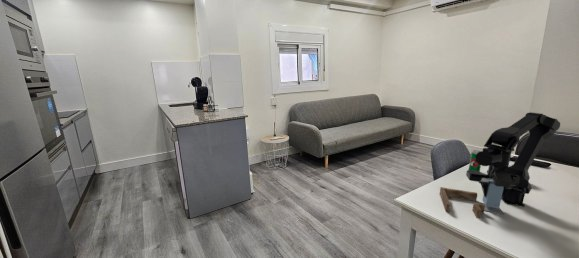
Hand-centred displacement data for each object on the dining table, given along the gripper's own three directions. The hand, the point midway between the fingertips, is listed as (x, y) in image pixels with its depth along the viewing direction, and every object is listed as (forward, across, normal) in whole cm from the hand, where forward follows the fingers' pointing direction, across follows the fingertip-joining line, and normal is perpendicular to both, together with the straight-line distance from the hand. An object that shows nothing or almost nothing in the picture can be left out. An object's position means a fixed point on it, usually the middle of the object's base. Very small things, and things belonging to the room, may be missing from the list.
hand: (491, 197), depth 99 cm
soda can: (+5, +4, +42) cm, 43 cm away
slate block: (+3, 0, 0) cm, 3 cm away
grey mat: (+5, 0, 0) cm, 5 cm away
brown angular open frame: (+5, -10, -2) cm, 11 cm away
